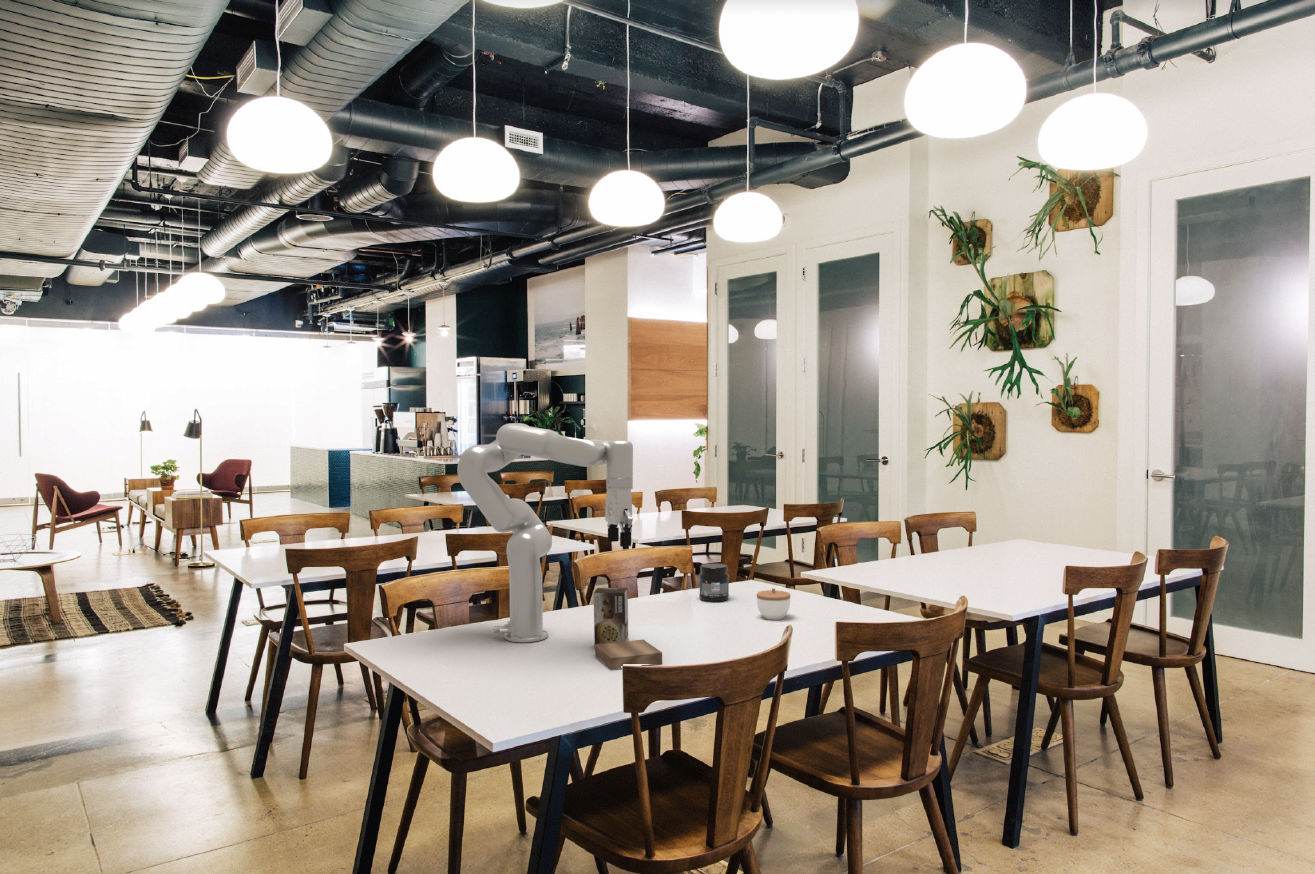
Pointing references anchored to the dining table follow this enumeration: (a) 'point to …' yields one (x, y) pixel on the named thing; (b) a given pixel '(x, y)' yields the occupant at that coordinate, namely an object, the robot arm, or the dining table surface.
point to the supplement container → (714, 583)
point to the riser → (627, 653)
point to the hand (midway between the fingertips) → (619, 543)
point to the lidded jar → (773, 603)
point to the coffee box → (610, 615)
